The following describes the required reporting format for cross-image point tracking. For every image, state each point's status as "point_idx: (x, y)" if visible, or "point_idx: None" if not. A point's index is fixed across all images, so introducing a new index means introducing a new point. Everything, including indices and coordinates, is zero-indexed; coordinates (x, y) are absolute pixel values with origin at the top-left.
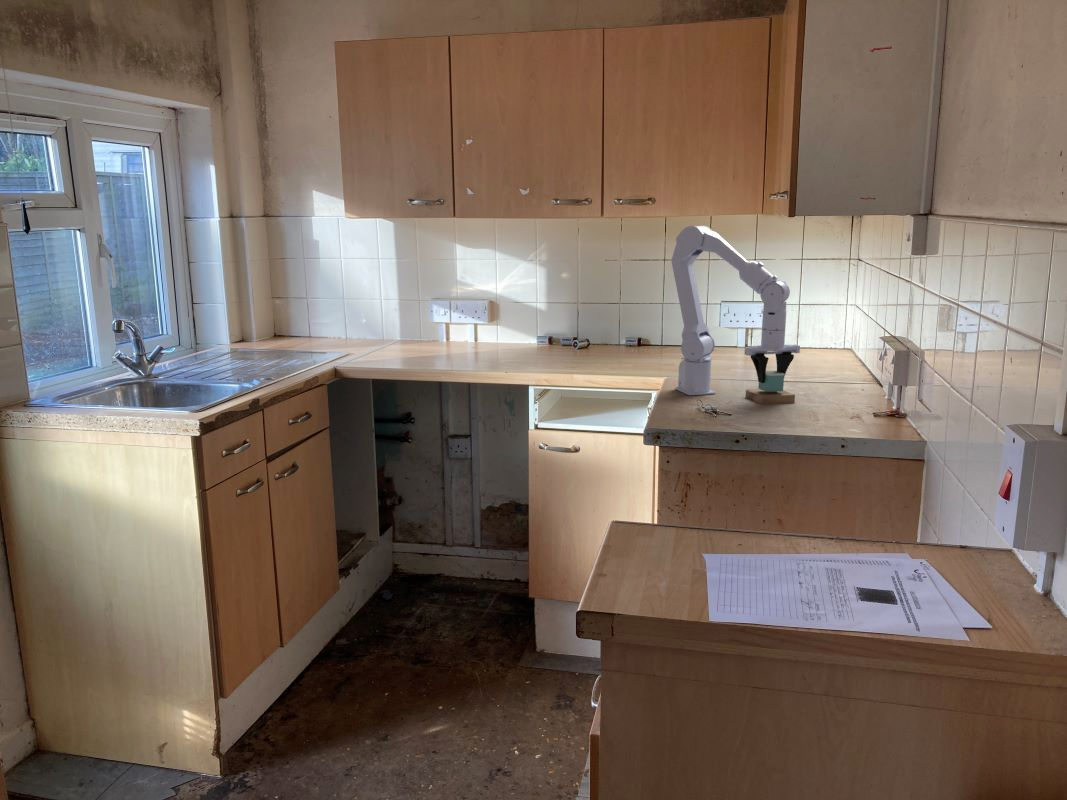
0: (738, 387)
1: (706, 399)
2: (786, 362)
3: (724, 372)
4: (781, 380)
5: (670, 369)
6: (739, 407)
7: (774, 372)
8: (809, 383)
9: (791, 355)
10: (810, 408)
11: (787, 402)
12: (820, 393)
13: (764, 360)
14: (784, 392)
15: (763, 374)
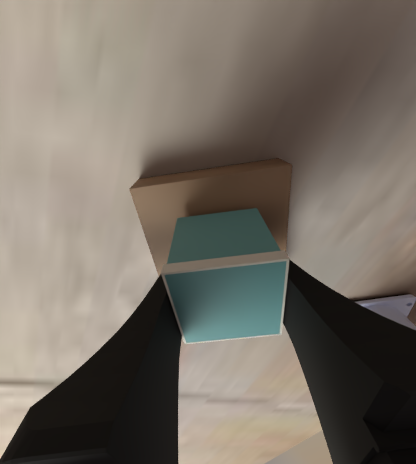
0: (232, 355)
1: (399, 255)
2: (127, 359)
3: (204, 430)
4: (184, 244)
5: (281, 440)
6: (393, 122)
7: (216, 301)
8: (50, 377)
9: (30, 460)
10: (88, 42)
11: (169, 174)
12: (24, 296)
13: (412, 354)
14: (163, 234)
15: (301, 272)
